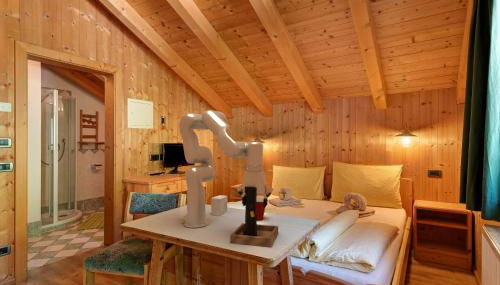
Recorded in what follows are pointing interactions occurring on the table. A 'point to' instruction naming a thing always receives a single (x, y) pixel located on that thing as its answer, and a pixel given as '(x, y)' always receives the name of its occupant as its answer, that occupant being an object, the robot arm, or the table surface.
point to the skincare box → (218, 205)
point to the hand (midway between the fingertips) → (254, 206)
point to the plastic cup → (260, 209)
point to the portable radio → (250, 212)
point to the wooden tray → (263, 238)
